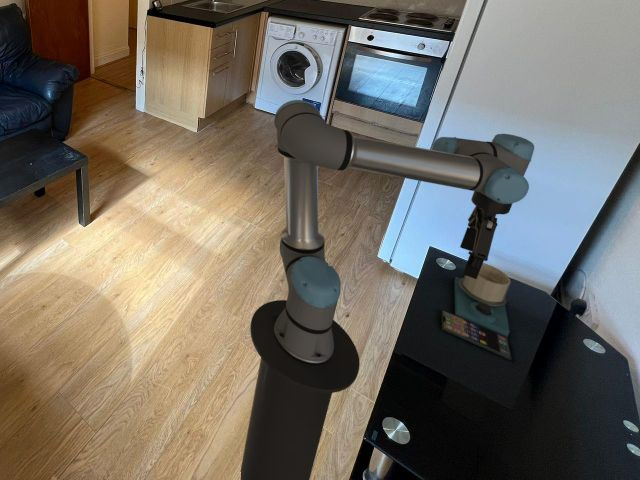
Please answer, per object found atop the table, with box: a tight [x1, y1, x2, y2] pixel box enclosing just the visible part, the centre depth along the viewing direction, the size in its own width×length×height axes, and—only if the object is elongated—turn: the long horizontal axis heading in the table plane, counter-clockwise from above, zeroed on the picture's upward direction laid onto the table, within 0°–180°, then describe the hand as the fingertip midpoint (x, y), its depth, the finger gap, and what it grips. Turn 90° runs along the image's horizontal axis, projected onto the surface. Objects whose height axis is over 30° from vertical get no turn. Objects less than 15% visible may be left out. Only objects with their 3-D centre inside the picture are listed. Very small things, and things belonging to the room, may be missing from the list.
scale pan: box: [458, 277, 507, 307], centre depth 126 cm, size 12×12×1 cm
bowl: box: [463, 262, 511, 302], centre depth 125 cm, size 10×10×7 cm
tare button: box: [477, 303, 491, 315], centre depth 119 cm, size 3×3×2 cm
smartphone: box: [441, 309, 512, 361], centre depth 115 cm, size 8×15×1 cm, turn 54°
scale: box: [453, 276, 510, 338], centre depth 125 cm, size 18×12×4 cm, turn 142°
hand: (467, 262), depth 109 cm, fingers open, 13 cm apart
